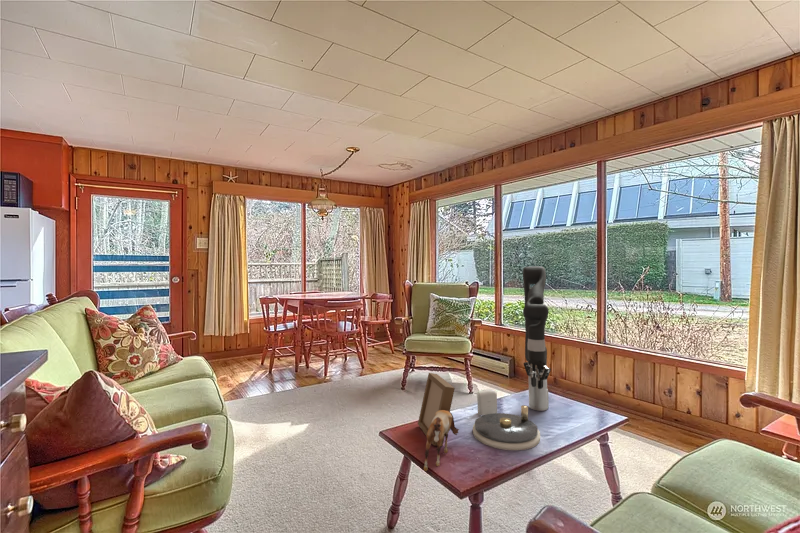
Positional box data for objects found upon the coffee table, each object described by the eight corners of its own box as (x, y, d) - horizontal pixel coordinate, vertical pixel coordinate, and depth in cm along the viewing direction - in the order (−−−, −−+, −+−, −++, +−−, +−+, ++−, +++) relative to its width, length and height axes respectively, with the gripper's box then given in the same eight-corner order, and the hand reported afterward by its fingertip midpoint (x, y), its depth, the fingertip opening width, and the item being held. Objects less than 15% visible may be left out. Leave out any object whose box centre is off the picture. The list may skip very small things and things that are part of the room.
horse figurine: (435, 481, 130) (439, 424, 129) (414, 474, 133) (419, 419, 133) (458, 442, 159) (462, 395, 158) (441, 437, 162) (445, 391, 161)
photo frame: (433, 447, 154) (432, 387, 155) (417, 426, 175) (417, 373, 176) (465, 443, 158) (465, 384, 158) (446, 422, 179) (446, 371, 179)
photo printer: (480, 416, 186) (479, 391, 186) (476, 413, 190) (475, 389, 190) (498, 414, 188) (498, 389, 188) (494, 410, 192) (494, 387, 192)
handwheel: (505, 412, 184) (505, 397, 184) (551, 433, 160) (551, 415, 160) (462, 424, 171) (462, 407, 171) (505, 449, 147) (505, 430, 147)
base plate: (506, 416, 185) (505, 412, 185) (555, 439, 160) (554, 434, 160) (459, 429, 171) (459, 425, 171) (505, 457, 146) (505, 452, 146)
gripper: (555, 350, 160) (556, 390, 160) (530, 345, 173) (530, 381, 173) (543, 352, 157) (544, 393, 157) (518, 346, 169) (519, 384, 169)
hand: (537, 387), depth 165 cm, fingers open, 3 cm apart
